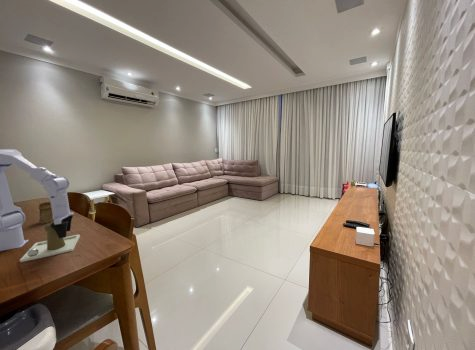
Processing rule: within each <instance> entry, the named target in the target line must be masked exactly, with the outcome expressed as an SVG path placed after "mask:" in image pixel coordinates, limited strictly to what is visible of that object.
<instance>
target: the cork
mask: <svg viewBox="0 0 475 350" xmlns="http://www.w3.org/2000/svg"><path fill="white" fill-rule="evenodd" d="M51 223H54V222H50V223H46V224H45V226H44V231H45V232H46V235H47V236H46V241H47V250H56V249H59V248H62V247H64V246H65V242H64V239H63V238H59V237H58V235H57V233H56V231H55V230H54V229H53V228H52V227H51V226H50V224H51Z"/></svg>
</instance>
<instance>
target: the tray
mask: <svg viewBox="0 0 475 350" xmlns="http://www.w3.org/2000/svg"><path fill="white" fill-rule="evenodd" d="M80 234H81V233H80ZM80 234H75V235H74V234H73V235H69V236H66V237H65V238H63V239H64V242H65V246H64V247H62V248H59V249H56V250H47V240H43V241H39V242H35V243H34V244H33V245H32V246H31V247H30V248H29V249H28V251H29V250H31V249H34V248H35V249H38V251H39V252H38V254H37V255H36V256H32V257H29V256H28V255H27V253H28V251H26V253H25V254H24V255H23V256H21V258H20V259H19V263H25V262H28V261H34V260H37V259H41V258H42V259H43V258H46V257H51V256H55V255H59V254H65V253H69V252H73V251H74V250H75V248H76V245H77V243H78V241H79V239H80V237H81V235H80Z"/></svg>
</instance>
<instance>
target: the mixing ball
mask: <svg viewBox="0 0 475 350" xmlns="http://www.w3.org/2000/svg"><path fill="white" fill-rule="evenodd" d="M27 252H28V253H27ZM27 252H26V253H27V255H28V256H29V257H32V256H36V255H37V254H38V252H39V251H38V249H35V248H34V249H31V250H29V249H28V250H27Z"/></svg>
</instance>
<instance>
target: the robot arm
mask: <svg viewBox="0 0 475 350" xmlns="http://www.w3.org/2000/svg"><path fill="white" fill-rule="evenodd" d="M12 166H14V167H16V168H18V169H20V170H22V171H25V172H27V173H28V174H29V177H30V179H32V180H34V181H36V182H37V183H39V184H40V185H42V186H43V189H44V191H46V193H47V196H48V197H49V202H51V208H52V213H53V216H52V217H53V219H54V223H53V222H50V223H51V224H50V226H51V227H52V228H53V229H54V230H55V231H56V233H57V235H58V237H59V238H65V237H67V232H70V231H71V228H72V227H71V225H72V221H73V218H74V212H71V211H70V210H71V209H70V204H69V198H68V197H69V195H68V191H67V189H68V188H69V186H70V181H69V180H68V179H67V178H66V176H61V175H57V174H55V173H53V172H51V171H50V170H48V168H46V167H42V166H38V167H37V166H36V165H35V164H34V163H32V162H30V161H29V160H28V159H26V158H25V157H23V155H22V152H20V151H18V150H17V149H15V148H8V149H7V148H4V149H3V148H1V149H0V252H2V251H7V250H13V249H16V248H22V247H23V246H24V245H25V244H26V243H27V242H29V240H30V239H26V240H25V236H24V232H23V227H22V226H23V225H24V222H25V221H26V214H25V213H24V212H23V209H22V208H21V207H20V206H17V205H14V201H13V198H12V193H11V190H10V187H9V186H10V185H9V183H8V179H7V176H6V173H5V171H6V170H7V169H8V168H10V167H12Z"/></svg>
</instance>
